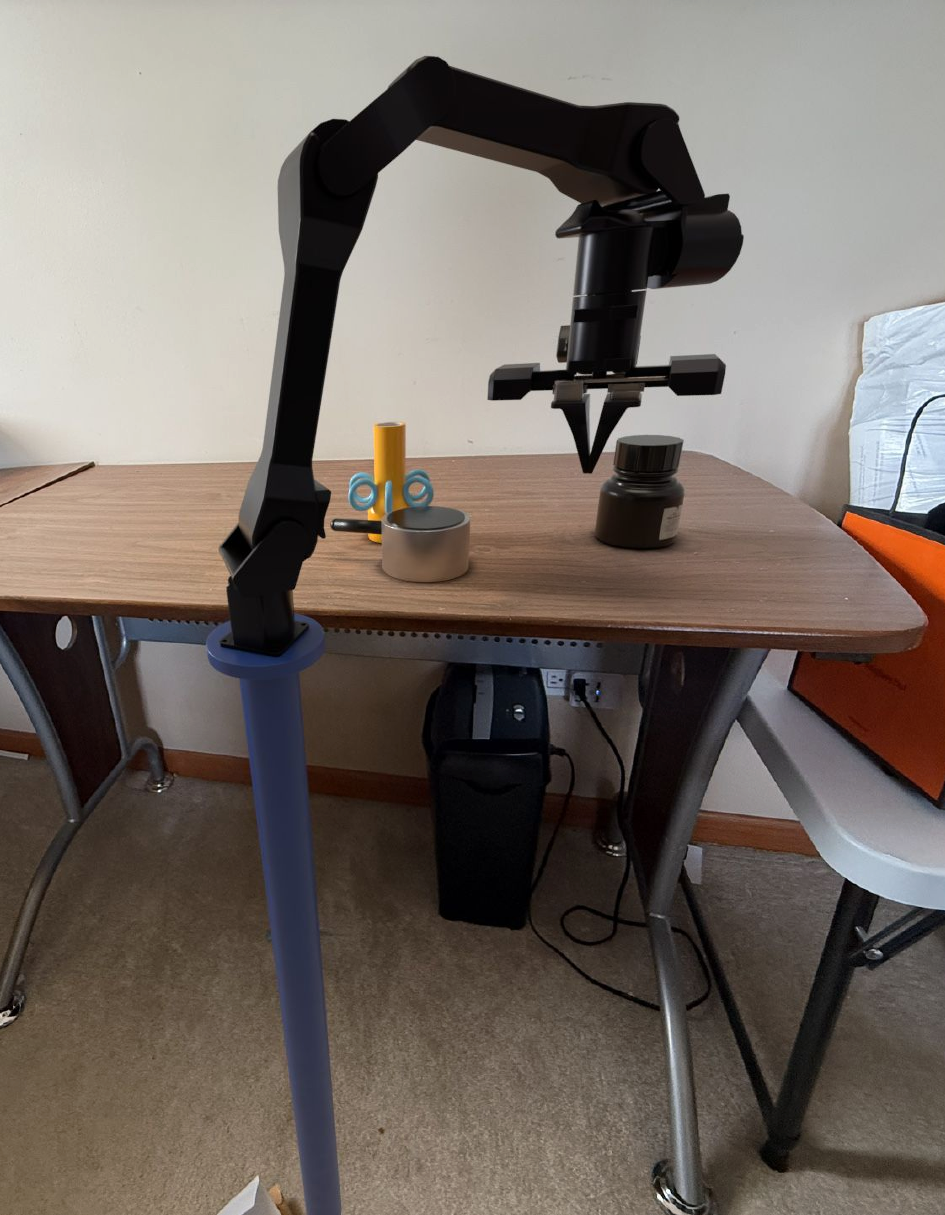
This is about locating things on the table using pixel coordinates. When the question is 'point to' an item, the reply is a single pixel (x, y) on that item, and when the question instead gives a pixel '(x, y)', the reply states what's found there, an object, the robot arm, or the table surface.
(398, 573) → the pot
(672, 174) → the robot arm
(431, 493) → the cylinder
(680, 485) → the ink bottle
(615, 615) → the table surface
